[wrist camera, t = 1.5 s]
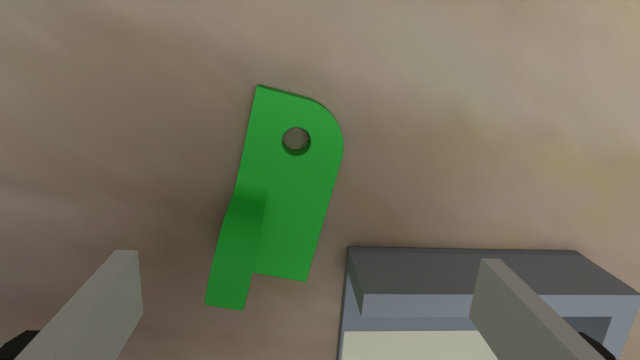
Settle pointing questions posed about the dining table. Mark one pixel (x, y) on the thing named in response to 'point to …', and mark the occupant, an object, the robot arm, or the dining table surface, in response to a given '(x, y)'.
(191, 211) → the dining table surface
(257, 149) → the mechanical part
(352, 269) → the corner arena
